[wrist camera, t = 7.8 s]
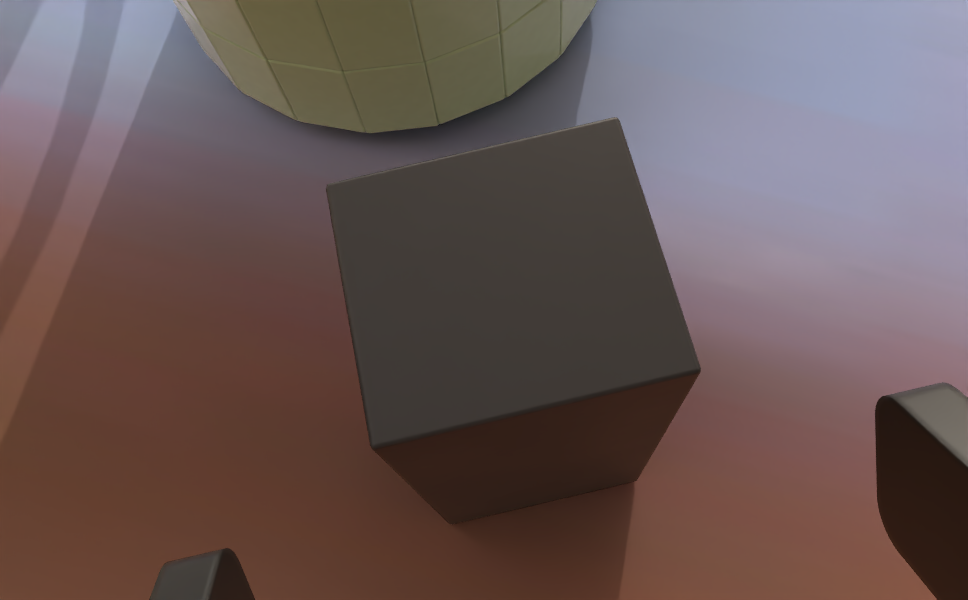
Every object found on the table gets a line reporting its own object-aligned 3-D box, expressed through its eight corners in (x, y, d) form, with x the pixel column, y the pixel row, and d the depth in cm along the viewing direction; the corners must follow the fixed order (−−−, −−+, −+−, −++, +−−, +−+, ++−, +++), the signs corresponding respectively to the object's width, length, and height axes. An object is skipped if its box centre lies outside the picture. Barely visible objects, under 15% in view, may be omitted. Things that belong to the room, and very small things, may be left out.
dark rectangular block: (638, 480, 19) (703, 371, 11) (449, 525, 19) (370, 449, 11) (592, 319, 21) (618, 114, 12) (416, 360, 21) (324, 182, 12)
